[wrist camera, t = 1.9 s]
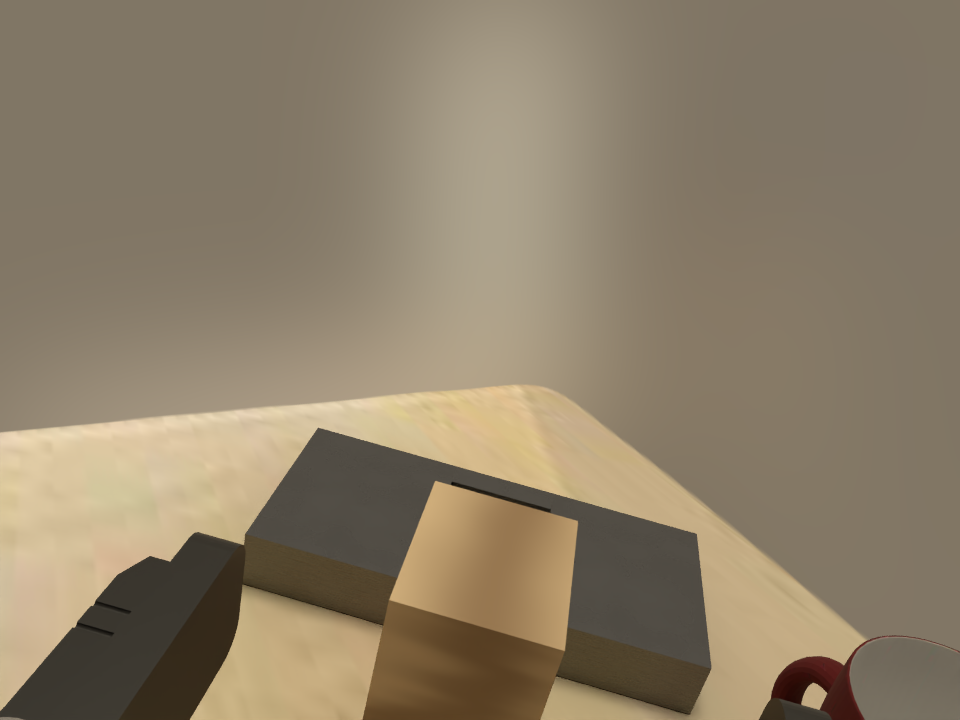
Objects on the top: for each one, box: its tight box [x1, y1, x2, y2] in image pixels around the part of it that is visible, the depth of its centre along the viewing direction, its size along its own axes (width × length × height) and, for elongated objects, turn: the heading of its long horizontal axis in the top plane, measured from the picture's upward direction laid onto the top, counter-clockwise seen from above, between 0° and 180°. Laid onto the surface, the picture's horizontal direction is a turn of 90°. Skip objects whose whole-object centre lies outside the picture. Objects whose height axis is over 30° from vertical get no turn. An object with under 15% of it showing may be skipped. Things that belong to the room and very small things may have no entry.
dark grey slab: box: [243, 428, 711, 714], centre depth 43 cm, size 22×10×3 cm, turn 81°
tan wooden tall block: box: [363, 481, 578, 720], centre depth 29 cm, size 5×6×13 cm
